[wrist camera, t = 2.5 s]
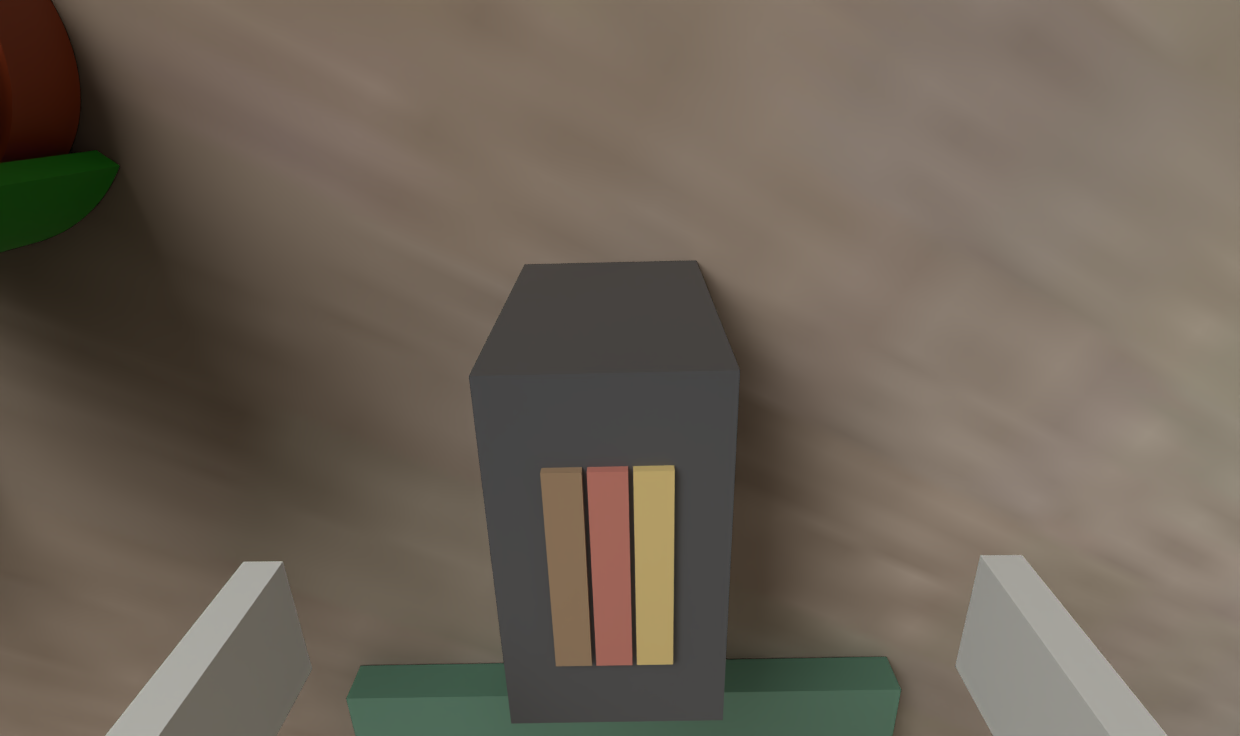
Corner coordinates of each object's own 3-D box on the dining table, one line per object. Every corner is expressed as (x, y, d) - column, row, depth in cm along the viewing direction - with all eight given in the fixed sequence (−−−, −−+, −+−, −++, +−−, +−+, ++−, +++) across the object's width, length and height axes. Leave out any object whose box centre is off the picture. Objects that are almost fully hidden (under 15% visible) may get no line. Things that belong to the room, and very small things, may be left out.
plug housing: (545, 520, 24) (509, 731, 16) (524, 264, 20) (466, 380, 13) (691, 517, 24) (724, 727, 16) (696, 260, 20) (741, 374, 12)
